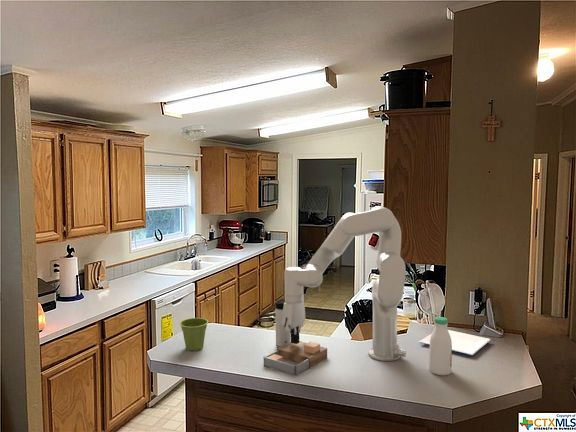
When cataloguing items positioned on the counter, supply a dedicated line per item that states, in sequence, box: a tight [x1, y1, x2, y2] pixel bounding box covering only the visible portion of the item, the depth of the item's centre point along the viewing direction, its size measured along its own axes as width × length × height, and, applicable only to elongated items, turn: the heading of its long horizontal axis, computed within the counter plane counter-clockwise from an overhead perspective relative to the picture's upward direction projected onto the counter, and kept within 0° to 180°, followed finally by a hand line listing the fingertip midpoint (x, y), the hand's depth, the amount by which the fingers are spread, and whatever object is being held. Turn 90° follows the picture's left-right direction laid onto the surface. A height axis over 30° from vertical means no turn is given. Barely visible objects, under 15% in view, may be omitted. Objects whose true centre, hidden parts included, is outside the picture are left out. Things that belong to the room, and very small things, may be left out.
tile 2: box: [304, 341, 321, 354], centre depth 174 cm, size 4×4×2 cm
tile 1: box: [268, 354, 283, 362], centre depth 170 cm, size 4×4×2 cm
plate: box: [418, 329, 491, 356], centre depth 190 cm, size 22×22×2 cm
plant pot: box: [179, 317, 209, 351], centre depth 188 cm, size 12×12×11 cm
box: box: [263, 349, 310, 377], centre depth 168 cm, size 15×9×4 cm, turn 53°
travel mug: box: [274, 299, 291, 348], centre depth 189 cm, size 6×7×20 cm
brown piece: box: [276, 340, 328, 369], centre depth 176 cm, size 16×12×4 cm
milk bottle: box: [428, 316, 453, 376], centre depth 163 cm, size 8×8×20 cm
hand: (295, 342), depth 179 cm, fingers closed
